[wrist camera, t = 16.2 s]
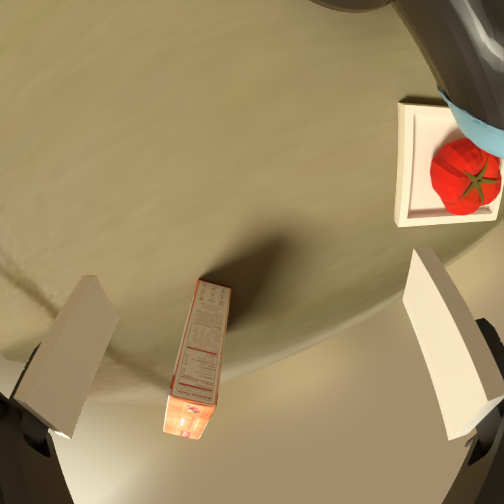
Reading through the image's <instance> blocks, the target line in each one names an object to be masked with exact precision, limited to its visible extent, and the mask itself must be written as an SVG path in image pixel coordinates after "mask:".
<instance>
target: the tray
mask: <svg viewBox="0 0 504 504" xmlns="http://www.w3.org/2000/svg"><path fill="white" fill-rule="evenodd" d="M460 138H467V137H466V136H465V135H464V134H463V132H462V131H461V130H460V128H459V127H458V125H457V123H456V121H455V118H454V116H453V114H452V112H451V110H450V108H449V106H441V105H430V104H416V103H398V169H397V186H396V200H395V212H394V221H395V223H396V224H397V226H398V227H407V226H420V225H434V224H448V223H462V222H476V221H491V220H496V217H497V213H498V209H499V205H500V200H501V195H502V190H503V185H504V159H502V158H500V166H499V169H500V173H501V177H502V182H501V191H500V193H499V194H498V196H497V198H496V199H495V200H494V201H492V202H491V203H490V204H488V205H484V206H480V207H479V208H478V209H477V211H475V212H474V213H472V214H468V215H464V216H459V215H454V214H451V213H450V212H448V211H447V209H446V208H445V206H444V204H443V202H442V200H441V199H440V197H439V196H438V194H437V193H436V192H435V190H434V189H433V187H432V183H431V177H430V166H431V160H432V159H433V158H434V157H435V155H436V154H437V153H438V152H439V151H440V150H441V149H442V147H443V146H444V145H446V144H448V143H450V142H452V141H454V140H457V139H460Z"/></svg>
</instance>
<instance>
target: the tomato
mask: <svg viewBox="0 0 504 504" xmlns="http://www.w3.org/2000/svg"><path fill="white" fill-rule="evenodd" d="M499 166H500V158H499V157H497V156H494V155H492V154H490V153H488V152H486V151H484V150H482V149H481V148H479V147H478V146H476V145H475V144H474V143H473V142H472V141H471V140H470V139H469V138H460V139H457V140H454V141H452V142H450V143H448V144H446V145H444V146H443V147H442V149H441V150H440V151H439V152H438V153H437V154H436V155H435V157H434V158H433V159H432V160H431V166H430V177H431V183H432V187H433V189H434V190H435V192H436V193H437V194H438V196H439V197H440V199H441V200H442V202H443V204H444V206H445V208H446V209H447V211H448V212H450V213H451V214H454V215H459V216H464V215H468V214H472V213H474V212H475V211H477V209H478V208H479V207H480V206H484V205H488V204H490V203H491V202H492V201H494V200H495V199H496V198H497V196H498V194H499V193H500V191H501V182H502V177H501V173H500V169H499Z"/></svg>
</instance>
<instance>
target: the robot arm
mask: <svg viewBox="0 0 504 504" xmlns="http://www.w3.org/2000/svg"><path fill="white" fill-rule="evenodd" d="M310 1H312V2H314V3H316V4H318V5H321V6H323V7H326V8H329V9H332V10H337V11H342V12H351V13H361V12H369V11H373V10H376V9H379V8H382V7H384V6H386V5H388V4H390V3H391V5H392V6H393V8H394V9H395V10H396V12H397V13H398V15H399V16H400V18H401V19H402V21H403V22H404V24H405V26H406V27H407V29H408V30H409V32H410V34H411V35H412V37H413V39H414V40H415V42H416V44H417V46H418V47H419V49H420V51H421V53H422V55H423V56H424V58H425V60H426V62H427V64H428V66H429V68H430V70H431V72H432V74H433V76H434V78H435V80H436V82H437V87H438V90H439V92H440V94H441V96H442V97H443V99H444V100H445V101H446V102H447V103H448V105H449V108H450V110H451V112H452V114H453V116H454V118H455V121H456V123H457V125H458V127H459V128H460V130H461V131H462V132H463V134H464V135H465V136H466V137H467V138H469V139H470V140H471V141H472V142H473V143H474V144H475V145H476V146H478V147H479V148H481V149H482V150H484V151H486V152H488V153H490V154H492V155H494V156H497V157H499V158H502V159H504V0H396V1H395V0H310ZM403 303H404V305H405V308H406V310H407V313H408V315H409V318H410V320H411V323H412V325H413V328H414V330H415V333H416V336H417V338H418V341H419V344H420V347H421V349H422V352H423V355H424V358H425V361H426V363H427V366H428V369H429V372H430V376H431V379H432V382H433V385H434V388H435V391H436V395H437V398H438V401H439V405H440V408H441V412H442V416H443V419H444V423H445V427H446V431H447V435H448V439H449V440H451V439H454V438H457V437H460V436H463V435H465V434H468V433H469V432H470V431H471V430H472V429H473V428H474V427H475V426H476V430H477V434H475V435H474V436H473V437H472V438H471V439H470V440H468V441H467V443H466V444H465V447H468V446H469V445H470V444H471V443H472V444H471V447H470V449H469V451H468V454H467V456H466V458H465V460H464V462H463V464H462V467H461V469H460V471H459V473H458V475H457V477H456V479H455V481H454V483H453V484H452V487H451V488H450V490H449V492H448V494H447V495H446V497H445V499H444V501H443V502H442V504H504V346H503V344H502V342H500V338H499V336H498V334H497V332H496V331H495V328H494V327H493V326H492V325H491V324H490V323H489V322H488V321H487V320H486V319H485V318H482V319H477V320H475V319H474V318H473V316H472V314H471V312H470V310H469V308H468V306H467V305H466V303H465V301H464V300H463V298H462V296H461V294H460V293H459V291H458V289H457V288H456V286H455V284H454V283H453V281H452V279H451V278H450V276H449V275H448V273H447V271H446V270H445V268H444V266H443V265H442V263H441V262H440V260H439V259H438V257H437V256H436V254H435V253H434V251H433V250H432V248H431V247H421V248H414V249H413V255H412V260H411V265H410V270H409V275H408V279H407V284H406V288H405V292H404V296H403ZM119 319H120V318H119V317H118V315H117V313H116V311H115V310H114V308H113V306H112V304H111V303H110V301H109V299H108V297H107V295H106V293H105V292H104V290H103V288H102V286H101V284H100V282H99V280H98V278H97V276H96V275H85V276H83V277H82V278H81V280H80V281H79V283H78V284H77V286H76V287H75V289H74V290H73V292H72V293H71V295H70V296H69V298H68V299H67V301H66V303H65V304H64V306H63V307H62V309H61V310H60V312H59V314H58V315H57V317H56V319H55V320H54V322H53V324H52V325H51V327H50V329H49V330H48V332H47V334H46V336H45V337H44V339H43V341H42V342H41V343H40V344H39V345H38V346H37V347H36V348H35V349H34V351H33V353H32V354H31V356H30V358H29V362H27V364H26V366H25V370H23V371H22V373H21V375H20V377H19V380H18V381H17V383H16V386H15V388H14V390H13V392H12V394H11V396H10V398H9V399H7V398H6V397H5V396H4V395H3V394H2V393H1V392H0V504H74V502H73V500H72V497H71V495H70V492H69V490H68V487H67V484H66V482H65V479H64V476H63V473H62V470H61V467H60V464H59V460H58V457H57V454H56V450H55V447H54V443H53V440H52V437H51V435H50V433H48V429H49V428H50V429H51V430H53V431H54V432H55V433H57V434H59V435H61V436H64V437H67V438H70V439H71V438H72V435H73V432H74V430H75V427H76V424H77V421H78V418H79V415H80V413H81V410H82V407H83V404H84V402H85V399H86V397H87V394H88V392H89V389H90V386H91V384H92V381H93V379H94V376H95V374H96V372H97V369H98V367H99V364H100V362H101V360H102V357H103V355H104V353H105V350H106V348H107V346H108V343H109V341H110V339H111V337H112V334H113V332H114V330H115V328H116V326H117V323H118V321H119Z"/></svg>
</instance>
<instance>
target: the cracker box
mask: <svg viewBox="0 0 504 504" xmlns="http://www.w3.org/2000/svg"><path fill="white" fill-rule="evenodd" d="M231 290H232V289H231V288H228V287H224V286H220V285H217V284H213V283H209V282H206V281H202V280H198V281H197V285H196V288H195V292H194V295H193V299H192V303H191V306H190V310H189V314H188V318H187V322H186V325H185V329H184V333H183V337H182V341H181V345H180V349H179V353H178V357H177V361H176V365H175V369H174V373H173V378H172V382H171V386H170V390H169V395H168V400H167V407H166V413H165V421H164V428H163V431H164V432H167V433H171V434H176V435H180V436H183V437H187V438H192V439H199V438H200V436H201V434H202V432H203V430H204V428H205V427H206V425H207V423H208V421H209V419H210V417H211V416H212V414H213V412H214V409H215V408H216V406H217V398H218V389H219V382H220V373H221V365H222V357H223V350H224V342H225V335H226V327H227V319H228V312H229V304H230V297H231Z"/></svg>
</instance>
